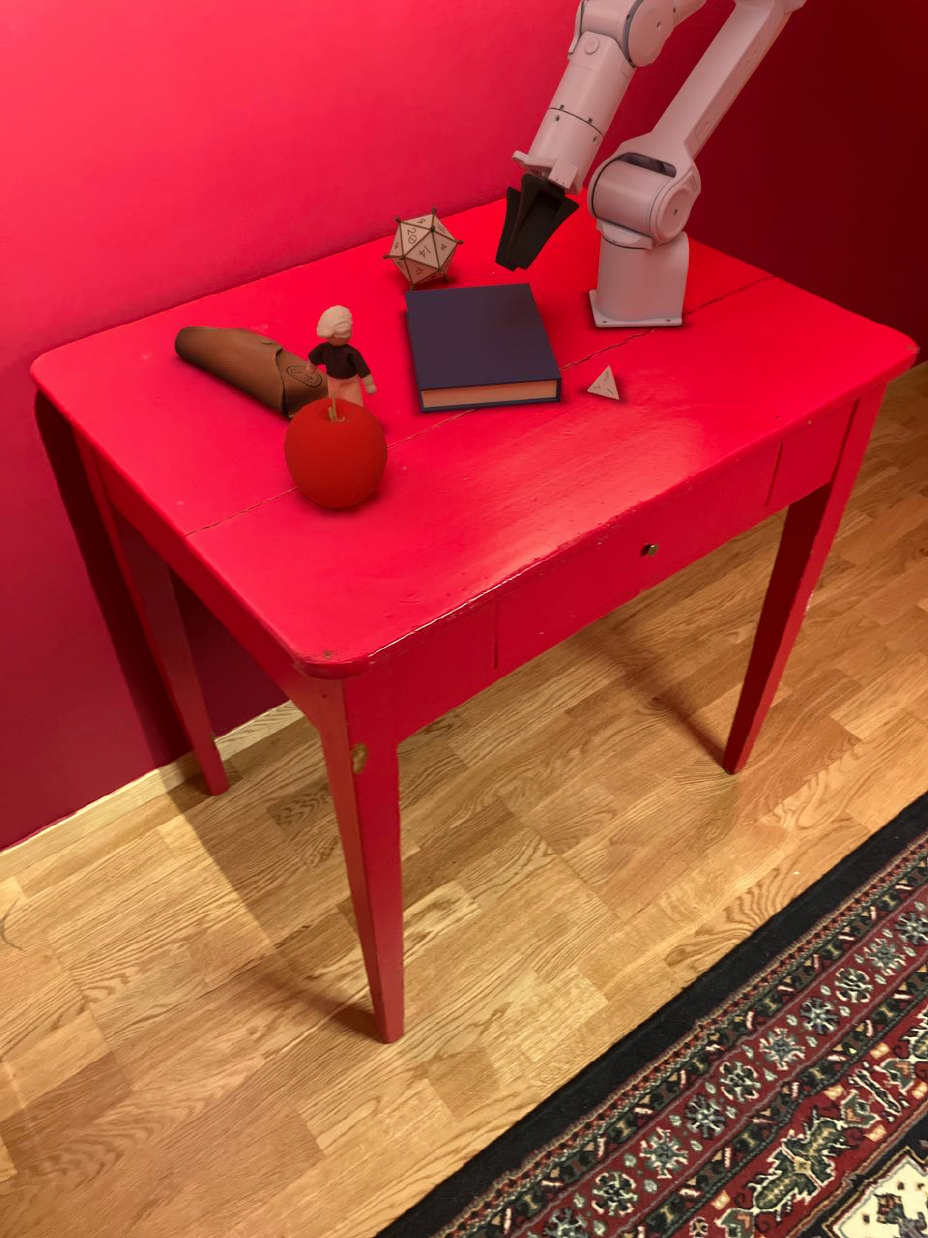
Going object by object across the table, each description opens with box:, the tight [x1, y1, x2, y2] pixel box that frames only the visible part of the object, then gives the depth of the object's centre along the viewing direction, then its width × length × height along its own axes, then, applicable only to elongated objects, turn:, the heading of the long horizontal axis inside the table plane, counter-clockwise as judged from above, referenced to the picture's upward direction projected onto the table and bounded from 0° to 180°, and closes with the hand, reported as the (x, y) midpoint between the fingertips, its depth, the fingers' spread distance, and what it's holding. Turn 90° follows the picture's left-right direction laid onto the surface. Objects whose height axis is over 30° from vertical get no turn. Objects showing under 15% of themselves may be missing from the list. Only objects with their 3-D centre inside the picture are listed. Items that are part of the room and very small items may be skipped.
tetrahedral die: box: [587, 365, 620, 401], centre depth 103 cm, size 4×3×3 cm
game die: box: [381, 205, 466, 291], centre depth 118 cm, size 9×8×10 cm
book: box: [404, 282, 563, 414], centre depth 108 cm, size 14×20×3 cm
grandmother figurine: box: [306, 305, 378, 408], centre depth 95 cm, size 8×4×13 cm, turn 71°
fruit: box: [283, 390, 389, 508], centre depth 89 cm, size 9×9×10 cm
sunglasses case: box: [173, 325, 329, 419], centre depth 105 cm, size 18×7×7 cm
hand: (509, 266), depth 97 cm, fingers open, 7 cm apart
